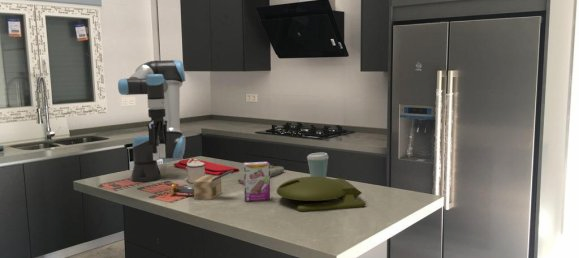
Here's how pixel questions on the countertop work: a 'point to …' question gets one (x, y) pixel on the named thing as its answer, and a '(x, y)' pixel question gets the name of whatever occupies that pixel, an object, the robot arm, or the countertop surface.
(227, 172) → the plate
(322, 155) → the disposable coffee cup
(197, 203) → the countertop surface
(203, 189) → the oak block
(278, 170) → the long grey stone
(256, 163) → the candy bar box
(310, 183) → the spaceship
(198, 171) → the teacup with lid
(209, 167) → the red long flat piece
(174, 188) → the lynch pin
